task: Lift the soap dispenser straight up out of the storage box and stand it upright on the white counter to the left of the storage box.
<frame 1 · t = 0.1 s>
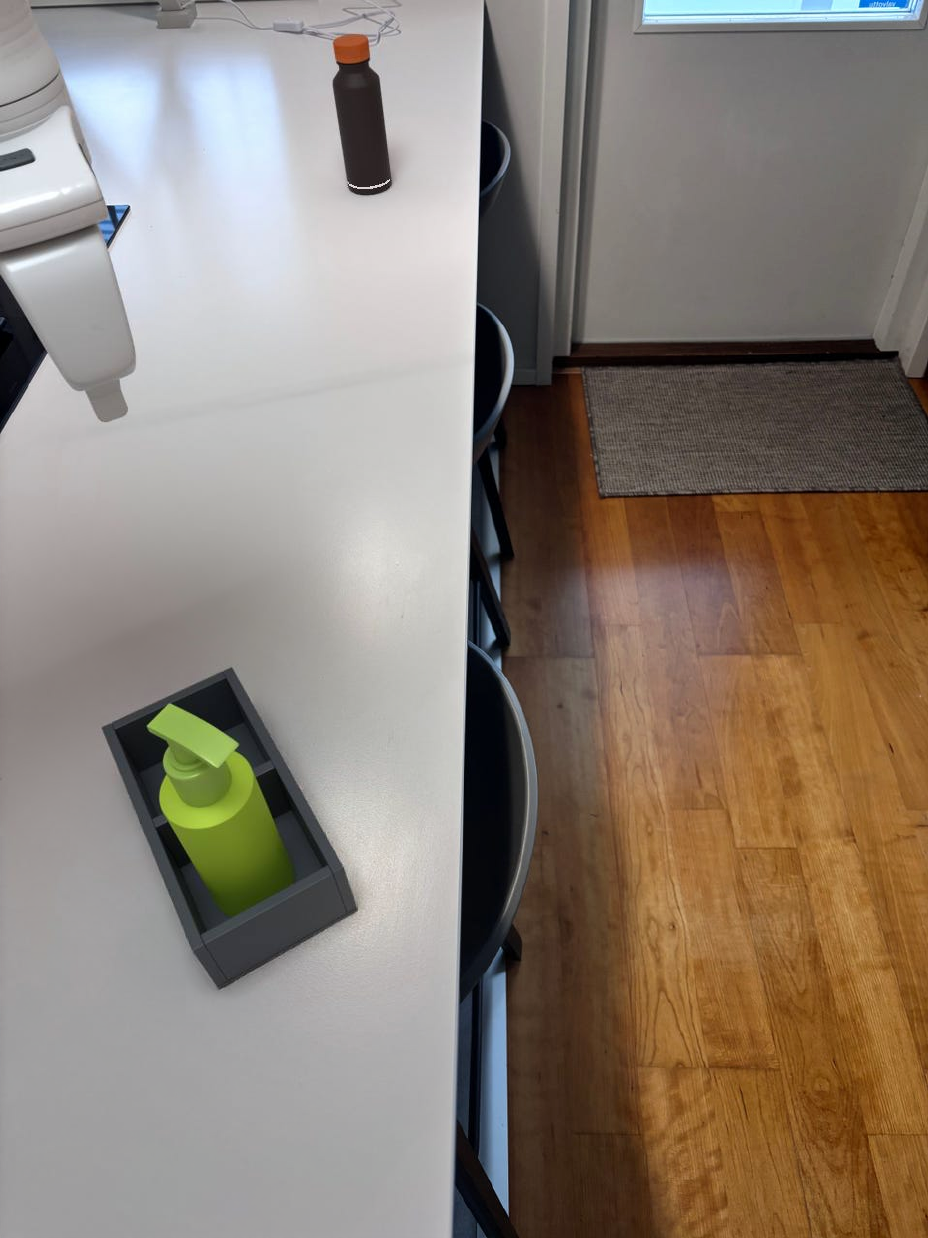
hand: (90, 375, 59), 31 cm above the counter, tool pointing down, fingers open, 8 cm apart
soap dispenser: (260, 887, 69), resting on storage box
bottle: (370, 186, 146), on the counter
storage box: (236, 837, 72), on the counter
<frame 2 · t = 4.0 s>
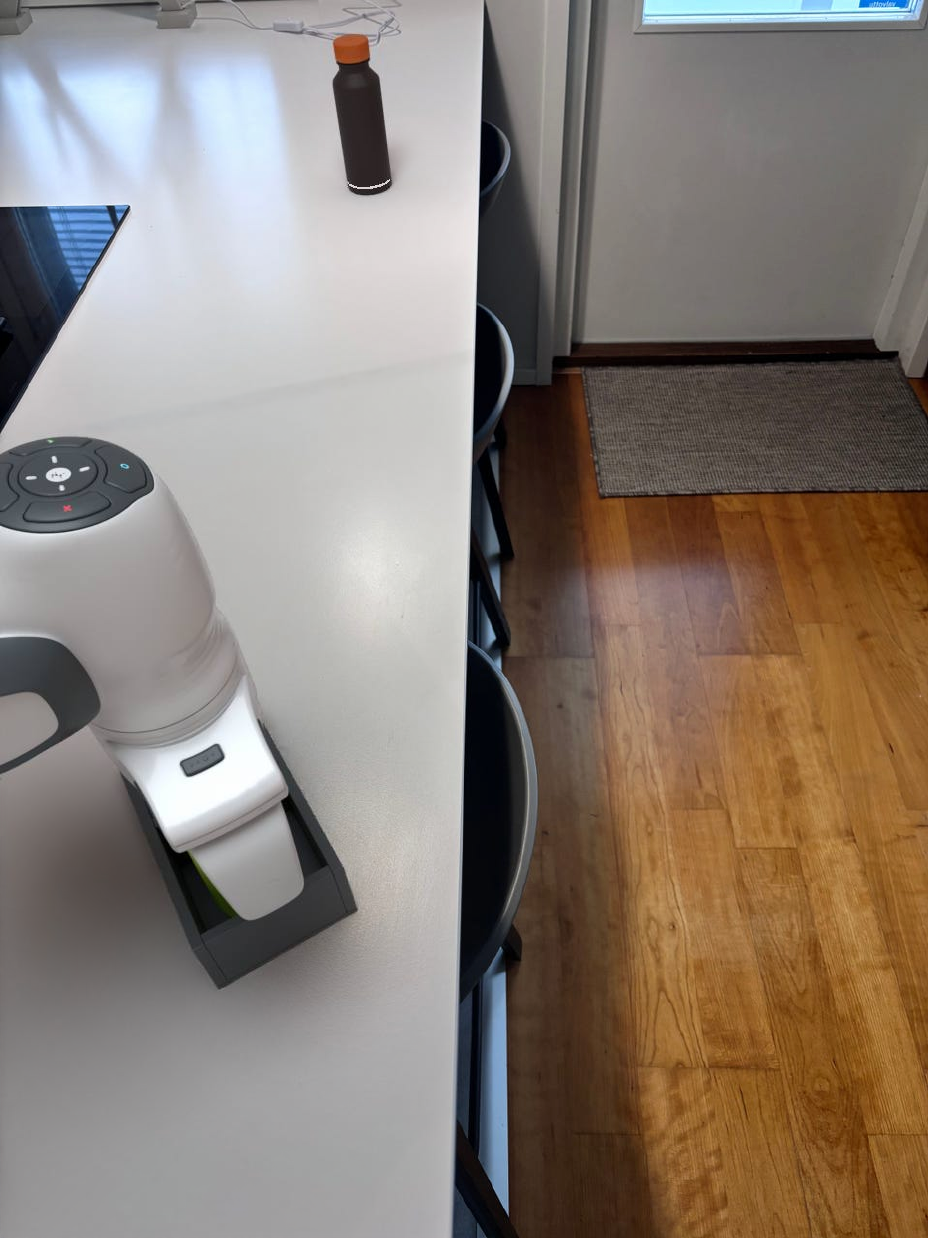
hand: (235, 822, 63), 9 cm above the counter, tool pointing down, fingers open, 6 cm apart
soap dispenser: (260, 886, 69), resting on storage box, touching arm, gripper
everything else where it was.
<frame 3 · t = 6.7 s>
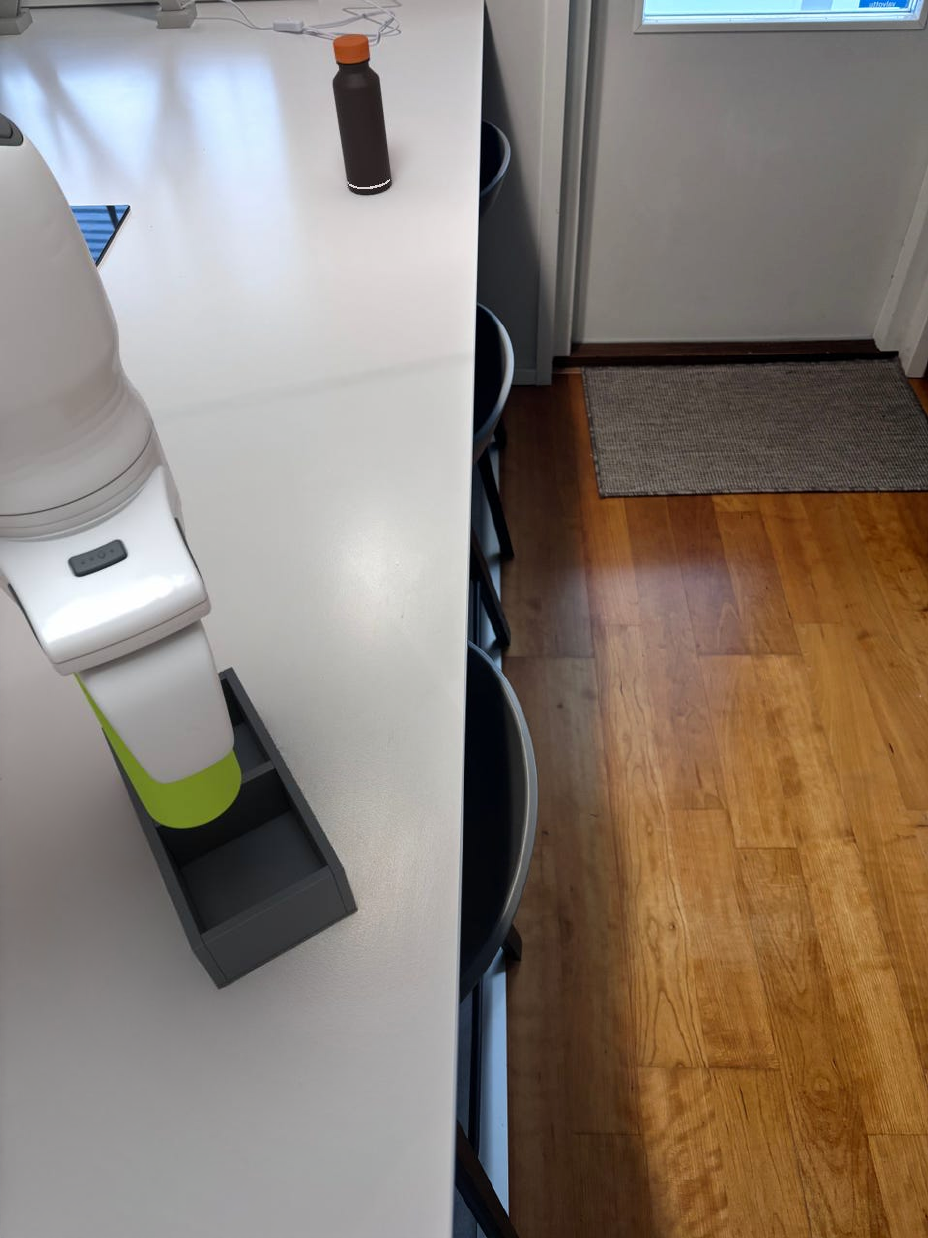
hand: (162, 692, 51), 24 cm above the counter, tool pointing down, fingers closed on soap dispenser, 6 cm apart
soap dispenser: (199, 791, 57), point 15 cm above the counter, touching gripper
everything else where it was.
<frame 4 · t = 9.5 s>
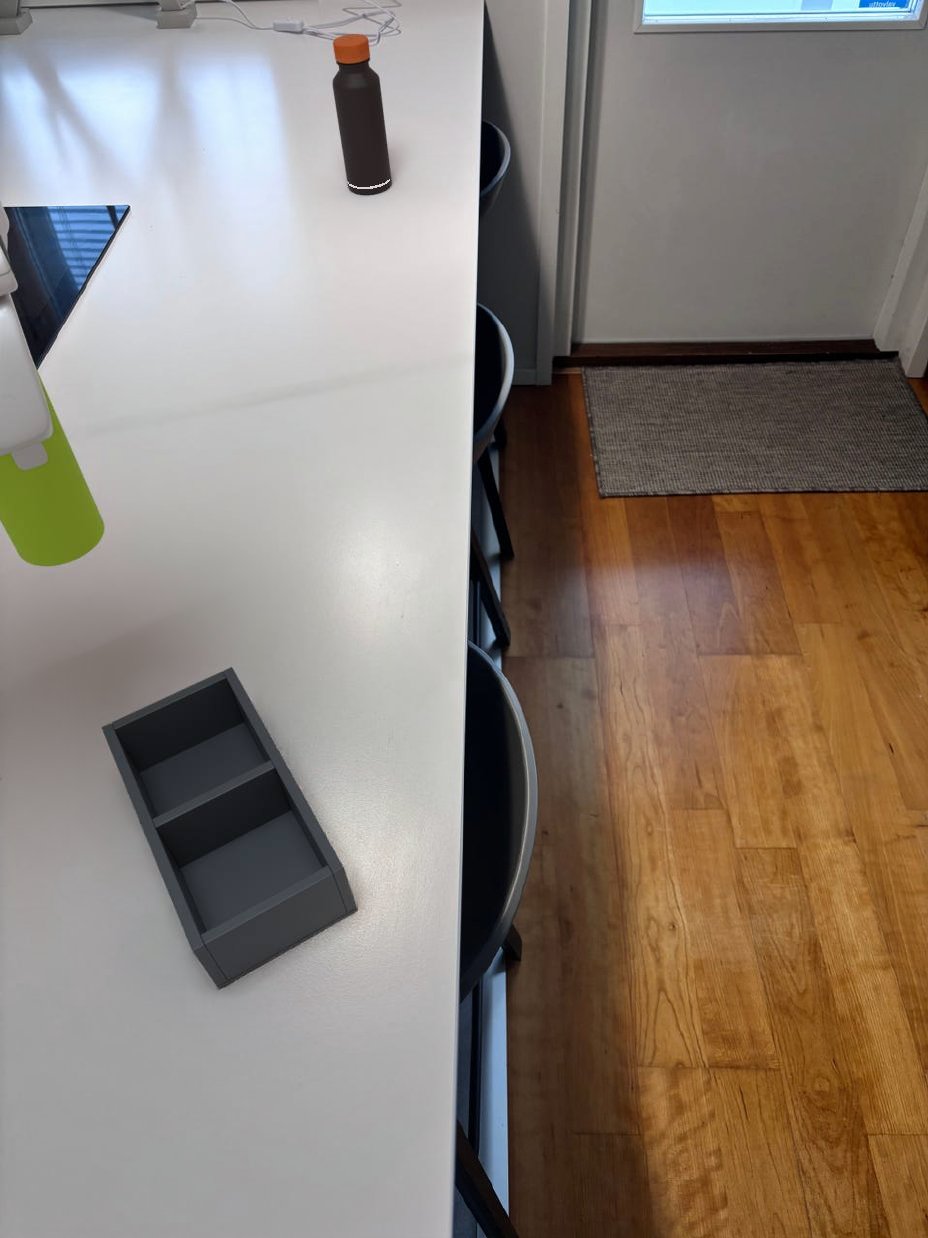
hand: (19, 431, 59), 29 cm above the counter, tool pointing down, fingers closed on soap dispenser, 6 cm apart
soap dispenser: (67, 541, 65), point 20 cm above the counter, touching gripper
everything else where it was.
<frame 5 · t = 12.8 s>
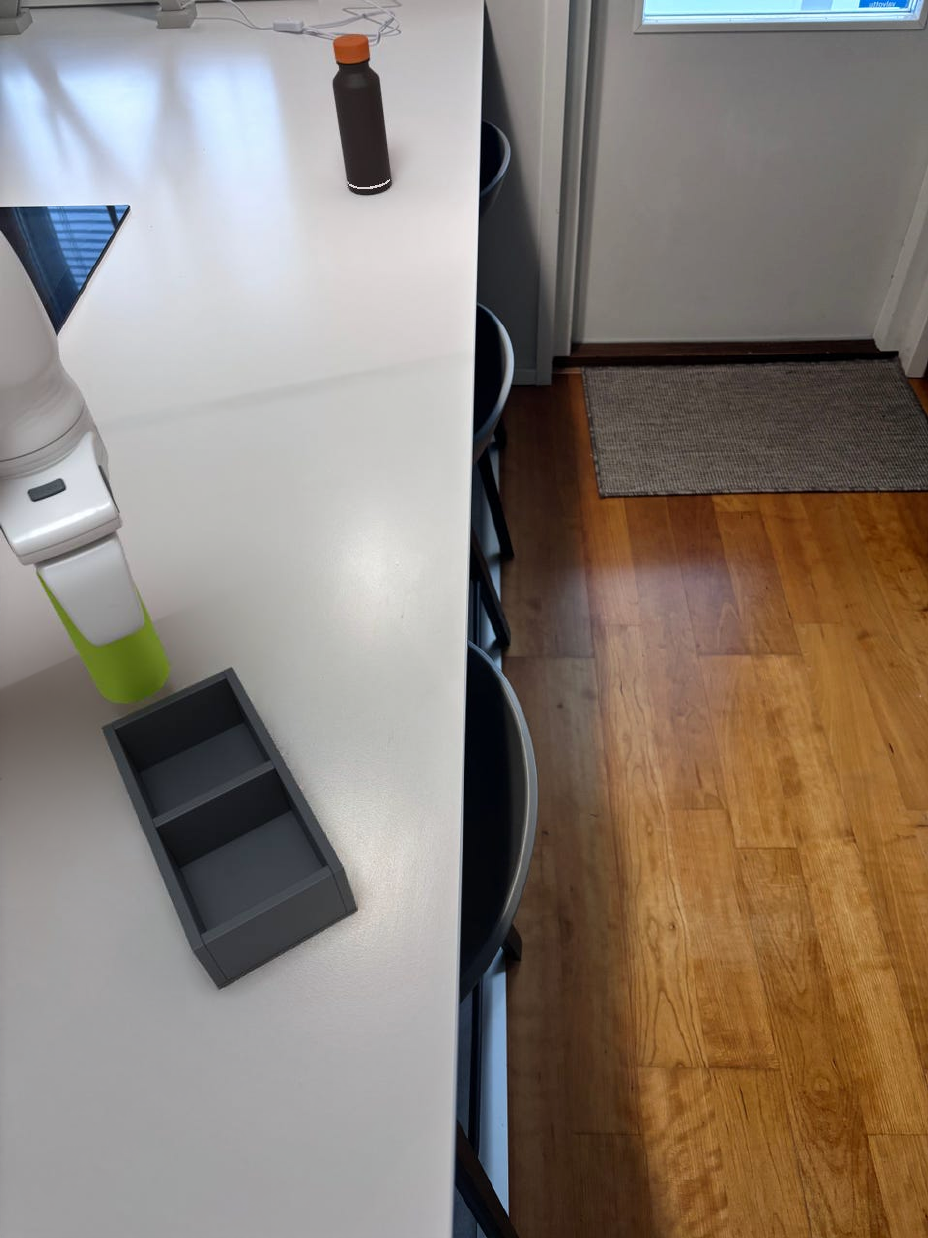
hand: (105, 599, 72), 13 cm above the counter, tool pointing down, fingers closed on soap dispenser, 6 cm apart
soap dispenser: (139, 679, 78), point 4 cm above the counter, touching gripper
everything else where it was.
when the fingers open (9 cm above the counter, at t = 14.5 s): soap dispenser moves 1 cm, on the counter.
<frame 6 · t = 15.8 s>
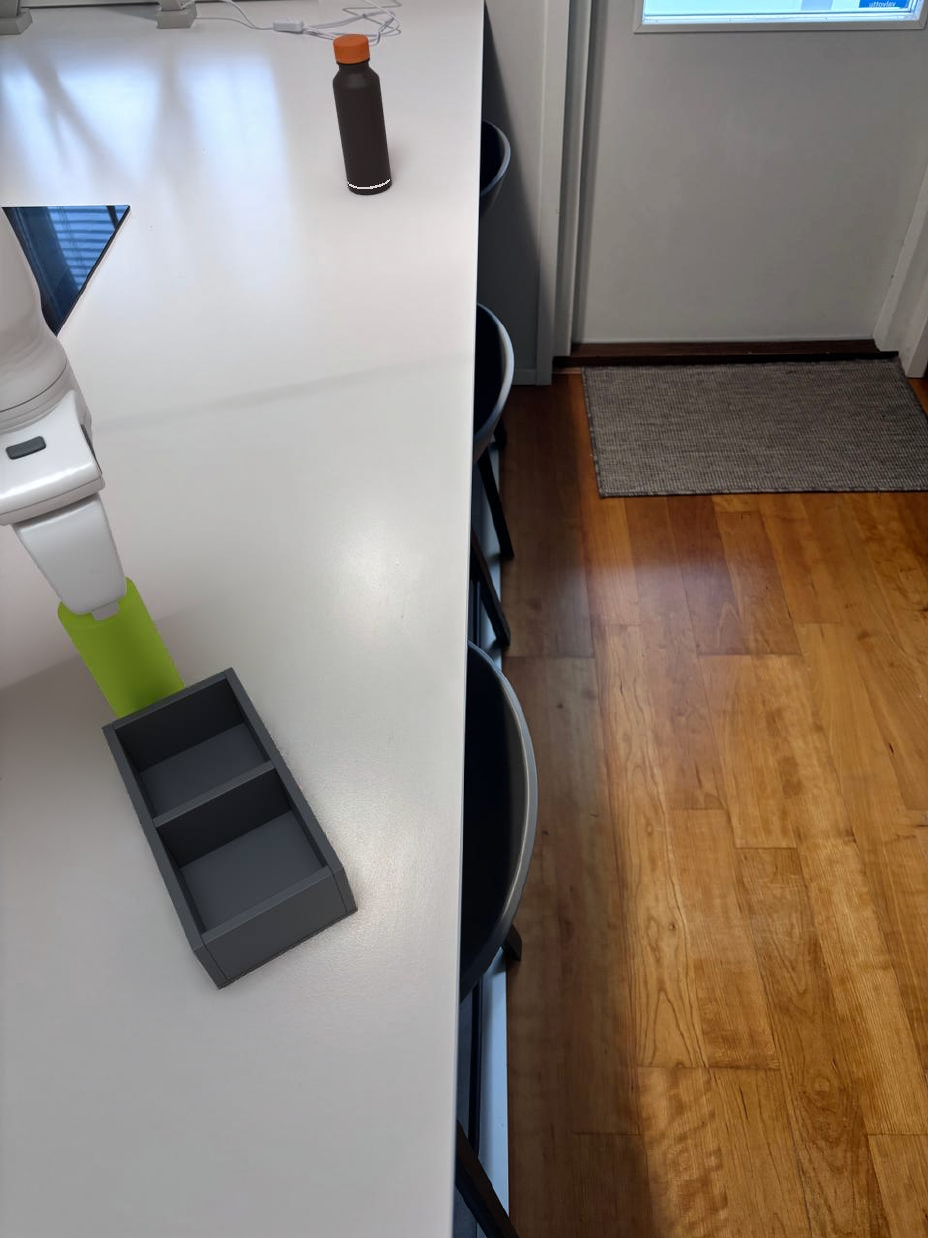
hand: (87, 571, 69), 16 cm above the counter, tool pointing down, fingers open, 8 cm apart
soap dispenser: (161, 714, 80), on the counter, touching gripper
everything else where it was.
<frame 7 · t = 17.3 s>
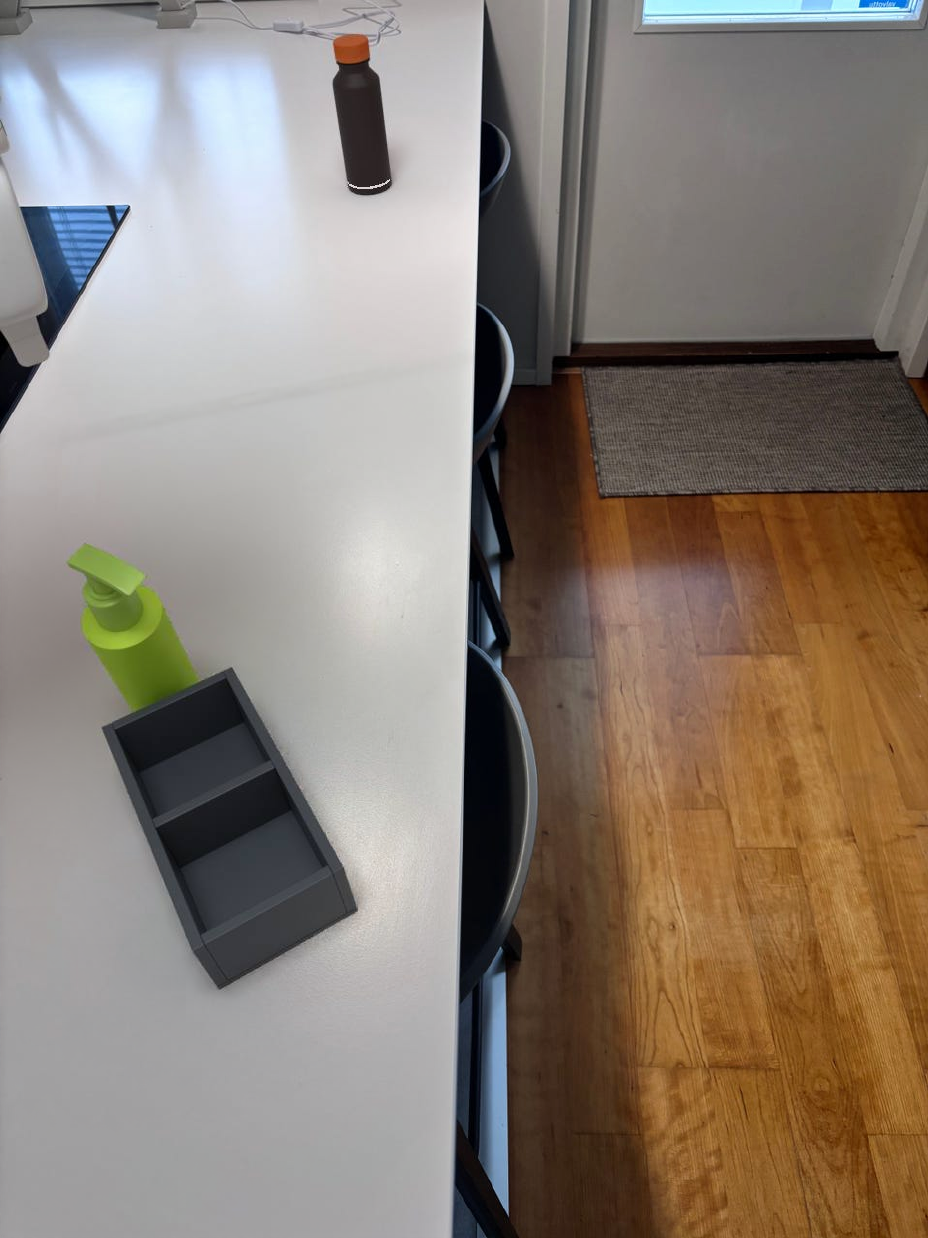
hand: (16, 322, 59), 34 cm above the counter, tool pointing down, fingers open, 8 cm apart
soap dispenser: (174, 704, 81), on the counter
everything else where it was.
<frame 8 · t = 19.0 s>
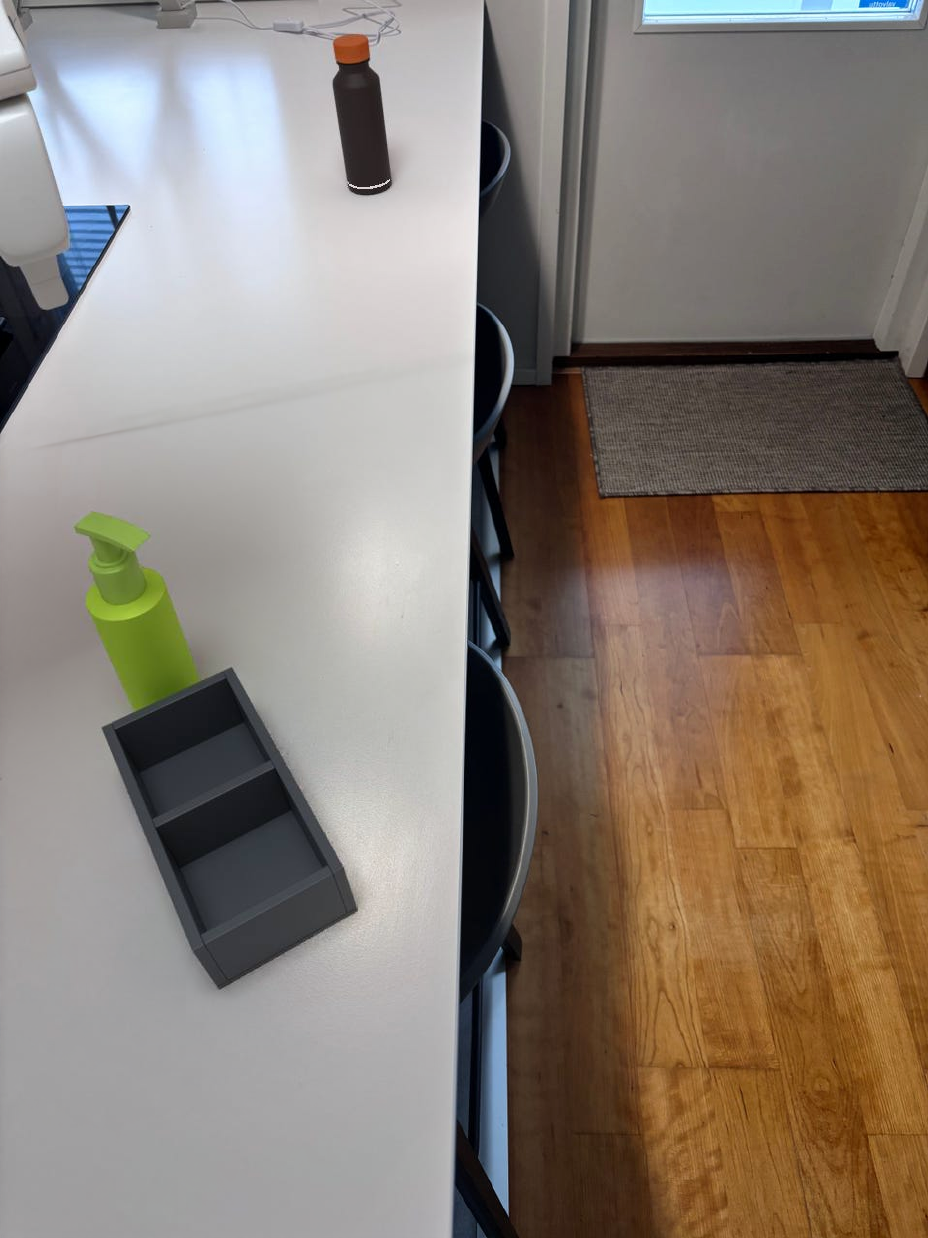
hand: (34, 270, 60), 35 cm above the counter, tool pointing down, fingers open, 8 cm apart
at the end: soap dispenser inside the target area (1.8 cm from its centre), on the counter; soap dispenser tilted 4° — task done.
